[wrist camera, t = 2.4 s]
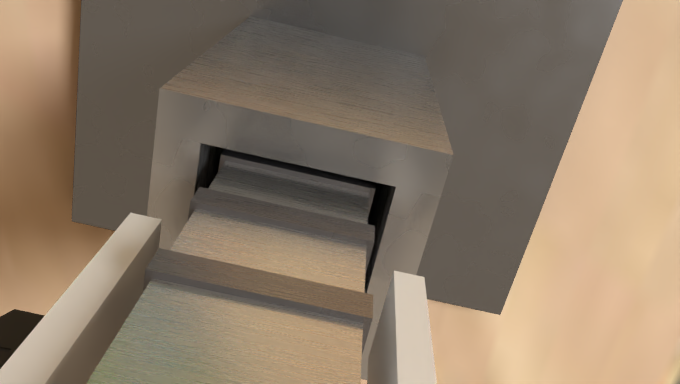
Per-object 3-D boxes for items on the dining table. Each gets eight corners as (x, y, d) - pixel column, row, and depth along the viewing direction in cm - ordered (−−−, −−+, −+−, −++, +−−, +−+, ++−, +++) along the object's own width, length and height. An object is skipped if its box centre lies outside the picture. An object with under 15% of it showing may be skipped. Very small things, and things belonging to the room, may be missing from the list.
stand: (99, -131, 26) (-153, -169, 14) (614, -9, 27) (813, 59, 14) (82, 210, 32) (-99, 391, 20) (496, 301, 33) (563, 529, 21)
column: (280, 64, 27) (-3, 493, 7) (377, 86, 27) (366, 568, 7) (264, 155, 29) (0, 704, 9) (355, 175, 29) (298, 762, 9)
